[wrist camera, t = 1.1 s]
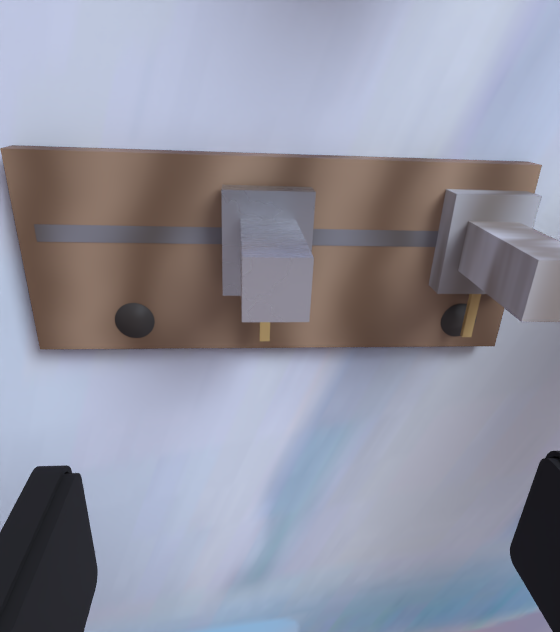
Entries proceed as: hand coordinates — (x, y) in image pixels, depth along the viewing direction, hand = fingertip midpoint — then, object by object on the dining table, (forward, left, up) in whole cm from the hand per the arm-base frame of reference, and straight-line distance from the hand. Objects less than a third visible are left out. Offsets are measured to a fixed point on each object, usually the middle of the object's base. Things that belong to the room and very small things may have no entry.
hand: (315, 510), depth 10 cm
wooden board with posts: (-1, +1, -22) cm, 22 cm away
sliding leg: (0, +2, -20) cm, 20 cm away
